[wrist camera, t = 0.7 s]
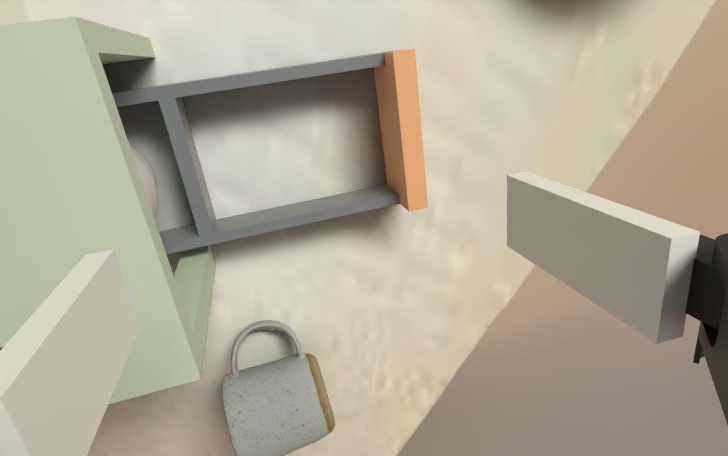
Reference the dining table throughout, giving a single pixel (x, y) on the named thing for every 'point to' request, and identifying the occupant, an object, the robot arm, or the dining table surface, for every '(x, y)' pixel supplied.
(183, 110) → the drawer
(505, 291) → the dining table surface
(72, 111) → the toy stool
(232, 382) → the ceramic mug
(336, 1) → the dining table surface
